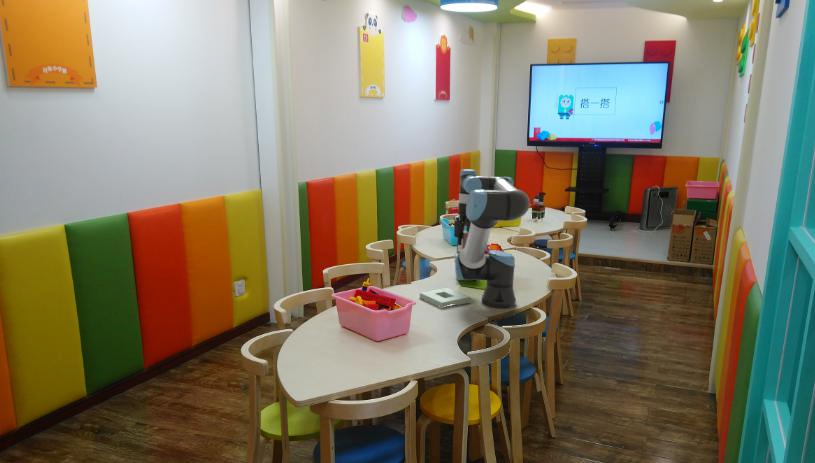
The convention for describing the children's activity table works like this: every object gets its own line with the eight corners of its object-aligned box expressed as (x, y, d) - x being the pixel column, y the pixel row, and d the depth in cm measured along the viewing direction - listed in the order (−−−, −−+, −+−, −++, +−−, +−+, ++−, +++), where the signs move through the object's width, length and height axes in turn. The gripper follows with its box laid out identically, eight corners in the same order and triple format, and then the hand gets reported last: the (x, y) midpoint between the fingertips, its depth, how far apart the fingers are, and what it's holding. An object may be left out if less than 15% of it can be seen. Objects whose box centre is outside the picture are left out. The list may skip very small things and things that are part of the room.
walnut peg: (471, 259, 273) (472, 232, 271) (464, 260, 271) (466, 233, 269) (462, 256, 278) (464, 230, 276) (456, 257, 276) (457, 231, 273)
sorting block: (469, 302, 257) (469, 297, 257) (441, 308, 248) (441, 302, 248) (447, 292, 270) (447, 287, 269) (419, 298, 261) (419, 292, 260)
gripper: (475, 200, 277) (472, 247, 282) (447, 202, 267) (445, 251, 272) (485, 202, 271) (482, 250, 276) (457, 204, 261) (455, 254, 266)
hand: (464, 251), depth 274 cm, fingers closed on walnut peg, 4 cm apart
